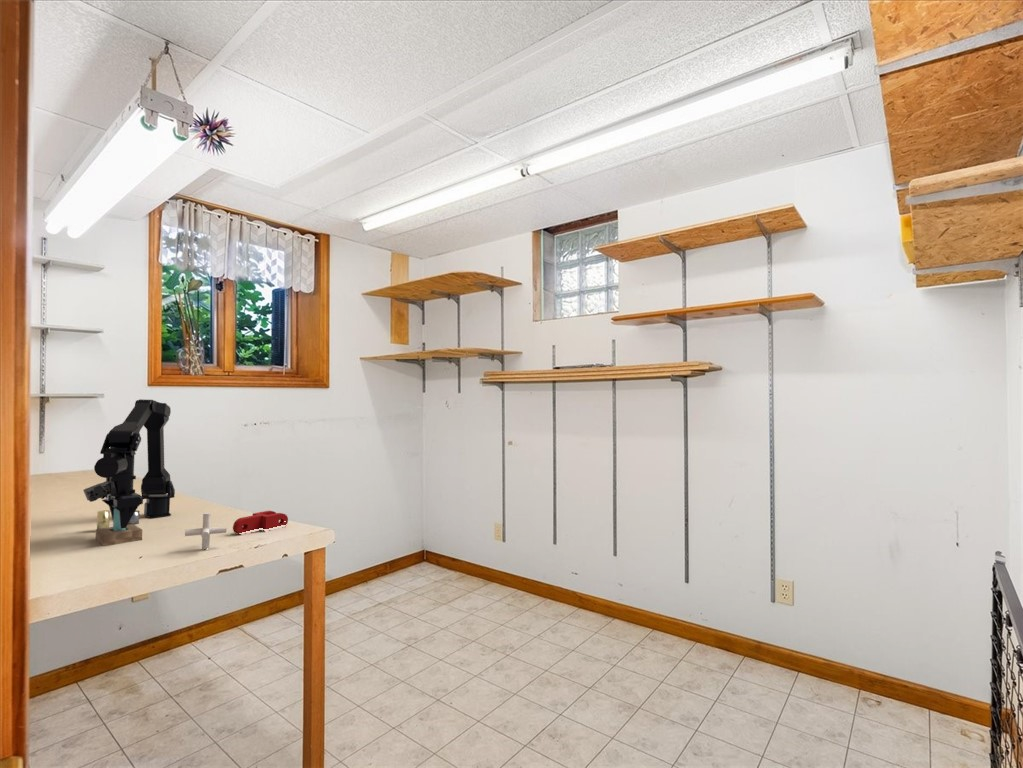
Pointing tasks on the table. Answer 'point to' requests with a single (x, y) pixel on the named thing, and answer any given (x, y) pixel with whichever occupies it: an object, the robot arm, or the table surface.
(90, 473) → the table surface
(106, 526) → the pin medium
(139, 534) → the hole block
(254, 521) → the mechanical linkage
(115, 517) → the pin long
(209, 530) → the pipe connector
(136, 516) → the pin short
